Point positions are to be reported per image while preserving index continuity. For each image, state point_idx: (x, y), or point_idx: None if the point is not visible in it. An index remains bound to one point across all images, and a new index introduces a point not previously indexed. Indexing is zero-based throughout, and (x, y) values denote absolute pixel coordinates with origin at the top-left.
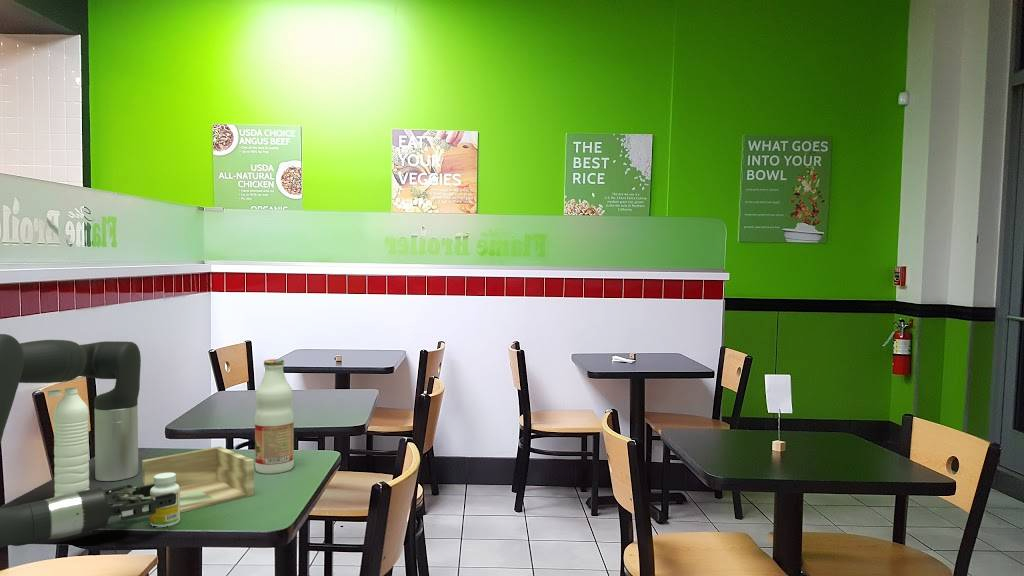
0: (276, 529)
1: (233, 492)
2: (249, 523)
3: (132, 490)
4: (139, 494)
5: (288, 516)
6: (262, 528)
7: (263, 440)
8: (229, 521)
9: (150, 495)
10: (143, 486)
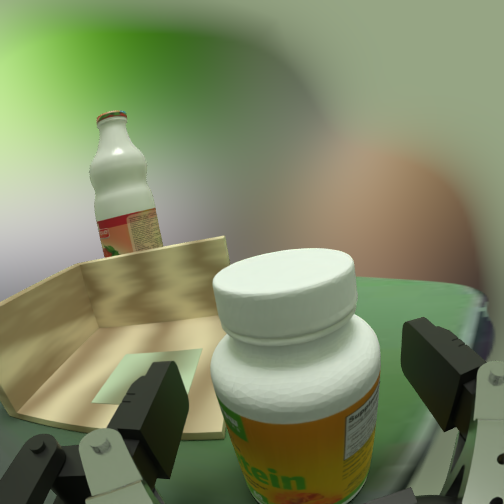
0: (473, 290)
1: (202, 324)
2: (429, 316)
3: (148, 486)
4: (152, 467)
5: (409, 285)
6: (464, 302)
7: (133, 239)
8: (400, 341)
9: (303, 428)
10: (137, 412)
